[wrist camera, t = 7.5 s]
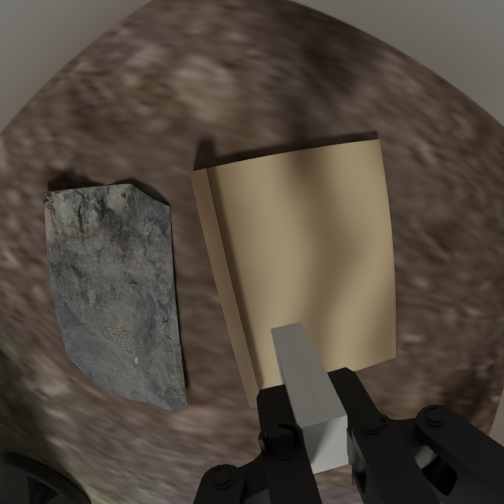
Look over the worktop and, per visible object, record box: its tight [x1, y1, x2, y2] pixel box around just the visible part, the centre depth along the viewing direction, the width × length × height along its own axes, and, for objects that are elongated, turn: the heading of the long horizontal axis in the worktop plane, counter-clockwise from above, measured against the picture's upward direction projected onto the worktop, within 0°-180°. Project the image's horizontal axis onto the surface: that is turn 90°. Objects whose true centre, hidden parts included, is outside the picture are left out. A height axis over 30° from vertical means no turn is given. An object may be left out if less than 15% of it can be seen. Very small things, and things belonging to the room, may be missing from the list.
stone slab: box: [43, 184, 188, 412], centre depth 22 cm, size 18×2×10 cm
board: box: [190, 139, 396, 408], centre depth 22 cm, size 13×18×2 cm
